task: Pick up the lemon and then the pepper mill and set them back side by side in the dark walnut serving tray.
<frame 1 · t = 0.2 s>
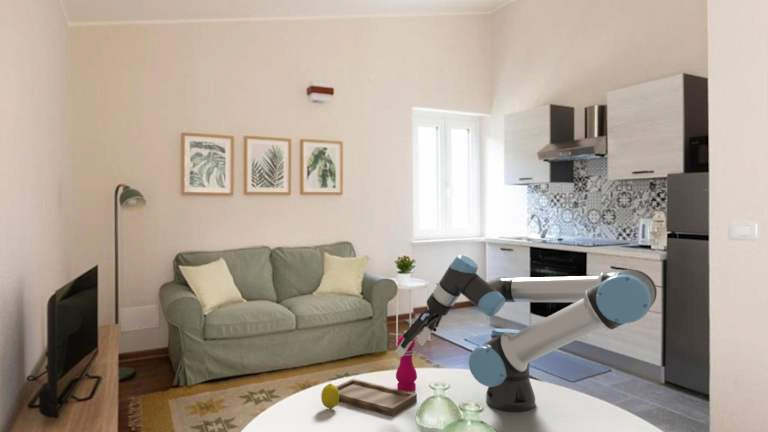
hand: (409, 348, 167), 16 cm above the table, tool tilted 35°, fingers open, 13 cm apart
walnut tray: (371, 400, 165), on the table
pepper mill: (406, 389, 175), on the table
lemon: (330, 410, 158), on the table
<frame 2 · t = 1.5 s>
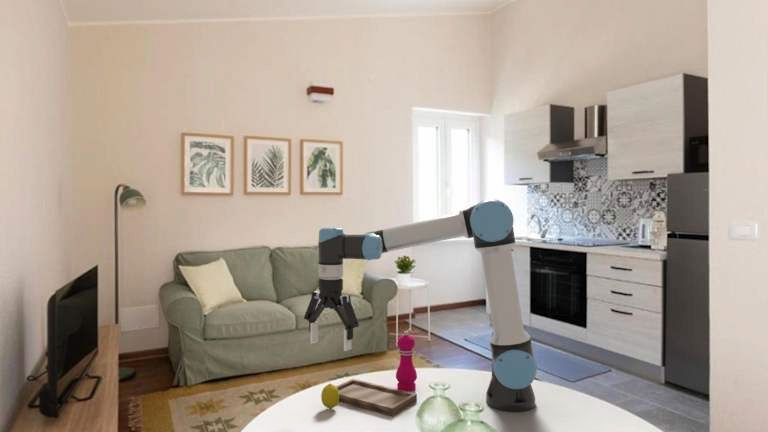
hand: (330, 346, 158), 19 cm above the table, tool pointing down, fingers open, 13 cm apart
nothing on the table moved.
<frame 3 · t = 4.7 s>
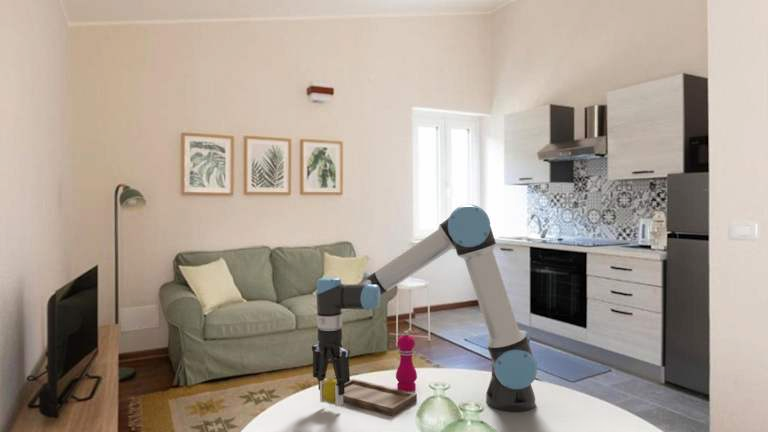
hand: (331, 402, 157), 2 cm above the table, tool pointing down, fingers closed on lemon, 5 cm apart
lemon: (331, 404, 158), point 2 cm above the table, touching gripper
everything else where it was.
when the fingers open (3 cm above the table, at t = 9.5 s): lemon drops 1 cm, resting on walnut tray.
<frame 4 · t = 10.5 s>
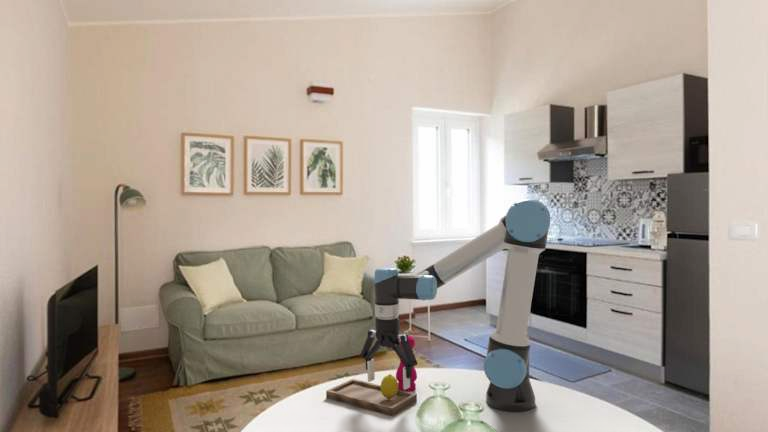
hand: (388, 384, 161), 6 cm above the table, tool pointing down, fingers open, 13 cm apart
lemon: (388, 400, 161), point 1 cm above the table, touching walnut tray
everything else where it was.
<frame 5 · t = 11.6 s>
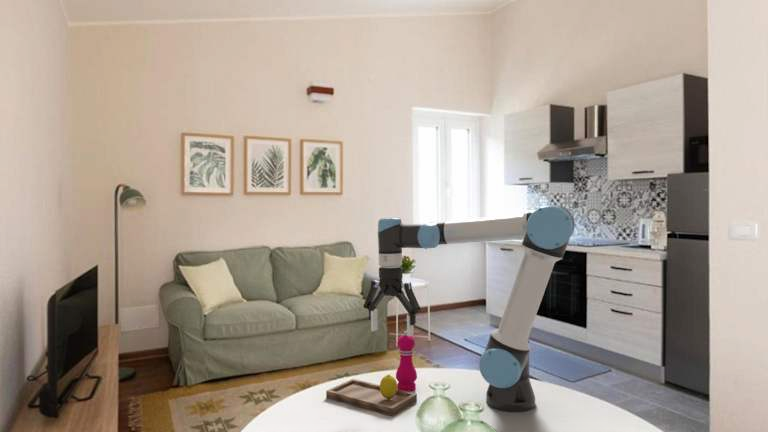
hand: (392, 332, 163), 22 cm above the table, tool pointing down, fingers open, 13 cm apart
nothing on the table moved.
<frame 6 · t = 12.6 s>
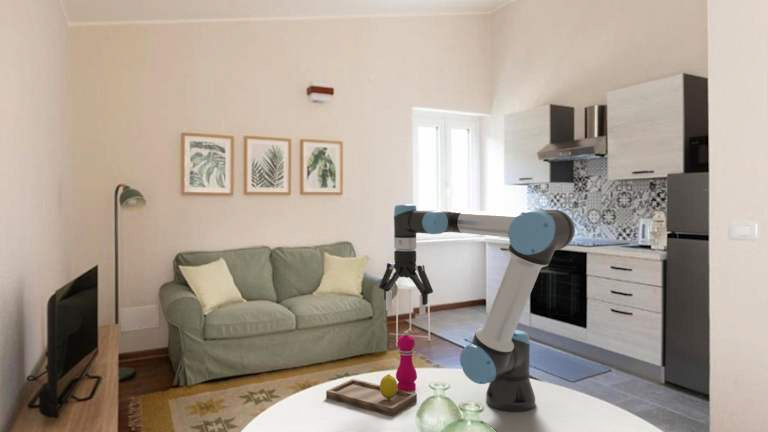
hand: (405, 311, 174), 26 cm above the table, tool pointing down, fingers open, 13 cm apart
nothing on the table moved.
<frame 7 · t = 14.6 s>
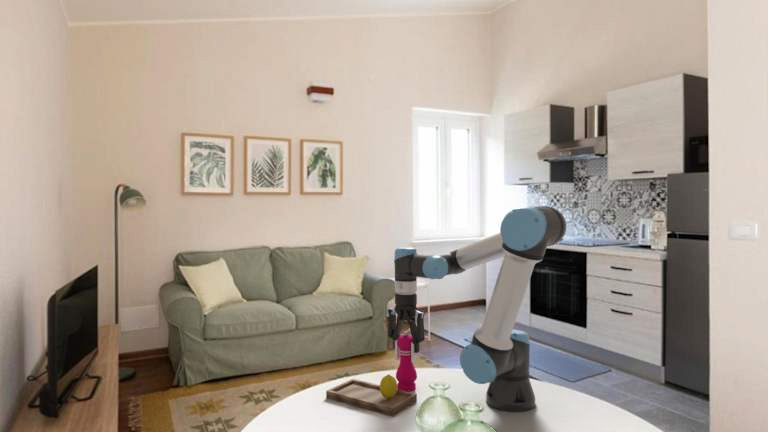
hand: (406, 360, 175), 10 cm above the table, tool pointing down, fingers closed on pepper mill, 6 cm apart
pepper mill: (406, 389, 175), on the table, touching gripper
everything else where it was.
when the fingers open (13 cm above the table, at t = 20.1 s): pepper mill drops 2 cm, resting on walnut tray.
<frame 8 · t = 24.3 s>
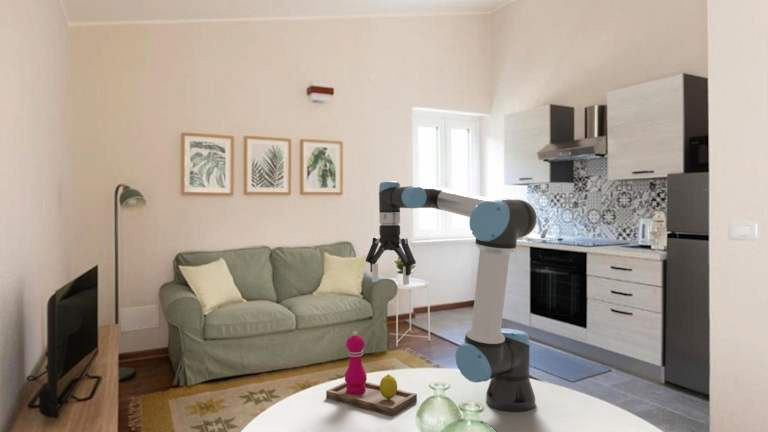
hand: (390, 283, 185), 35 cm above the table, tool pointing down, fingers open, 13 cm apart
pepper mill: (355, 391, 168), point 1 cm above the table, touching walnut tray
everything else where it was.
at the end: lemon inside the target area on the walnut tray (6.8 cm from its centre), point 1.3 cm above the walnut tray's base; pepper mill inside the target area on the walnut tray (6.3 cm from its centre), point 1.3 cm above the walnut tray's base; pepper mill tilted 0° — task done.
